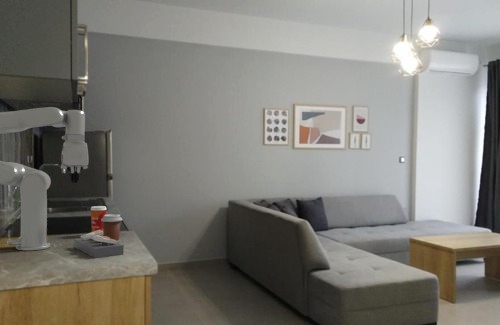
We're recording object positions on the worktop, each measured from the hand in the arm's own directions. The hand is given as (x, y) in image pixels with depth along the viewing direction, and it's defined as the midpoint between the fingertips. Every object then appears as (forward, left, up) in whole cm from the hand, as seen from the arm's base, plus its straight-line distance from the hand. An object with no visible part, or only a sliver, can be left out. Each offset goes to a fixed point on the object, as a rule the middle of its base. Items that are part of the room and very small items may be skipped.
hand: (74, 182), depth 176 cm
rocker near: (+5, -22, -22) cm, 31 cm away
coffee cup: (+17, +1, -27) cm, 32 cm away
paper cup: (+18, +20, -27) cm, 38 cm away
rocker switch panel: (+5, -15, -27) cm, 31 cm away
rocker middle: (+5, -15, -22) cm, 27 cm away
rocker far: (+5, -8, -22) cm, 24 cm away
